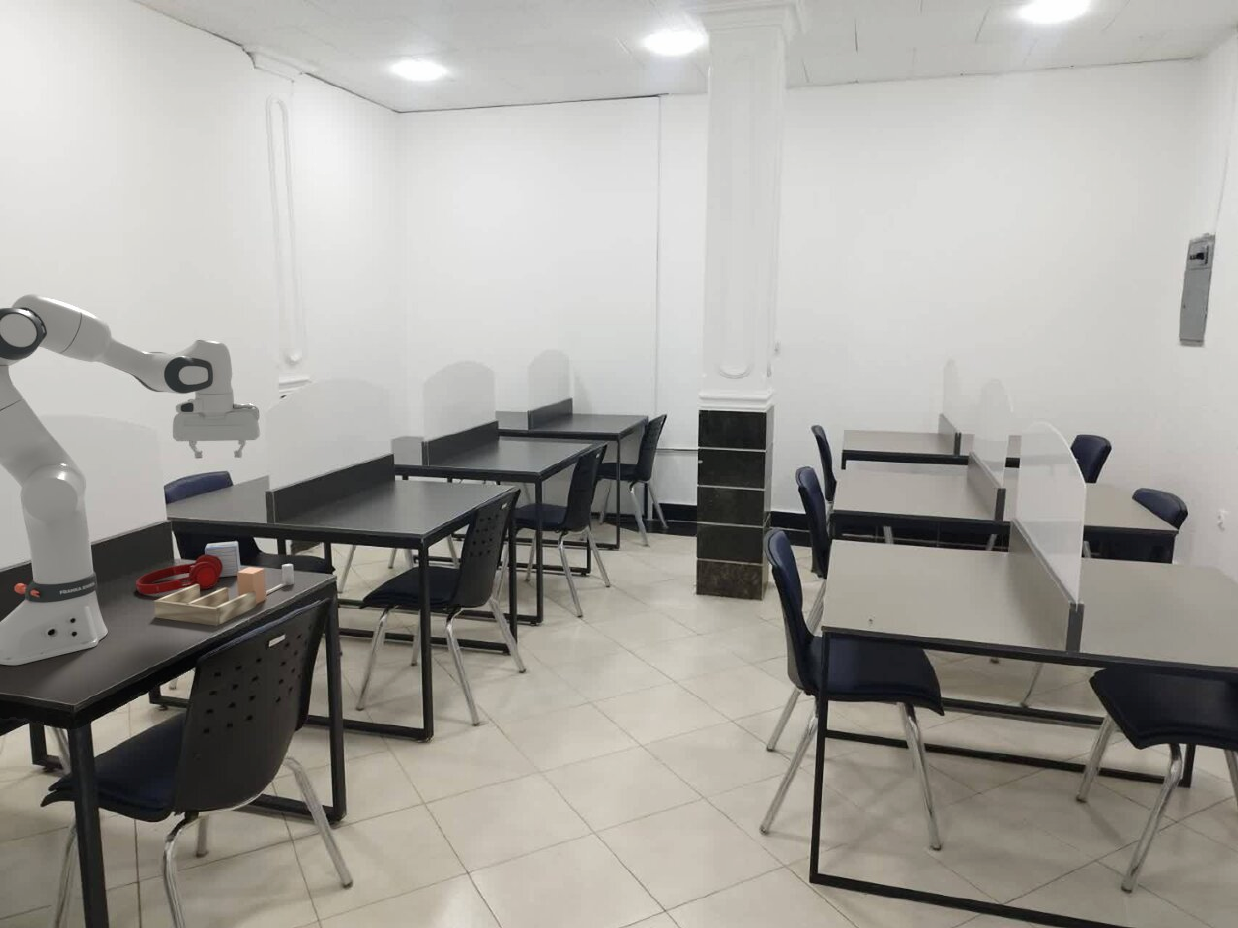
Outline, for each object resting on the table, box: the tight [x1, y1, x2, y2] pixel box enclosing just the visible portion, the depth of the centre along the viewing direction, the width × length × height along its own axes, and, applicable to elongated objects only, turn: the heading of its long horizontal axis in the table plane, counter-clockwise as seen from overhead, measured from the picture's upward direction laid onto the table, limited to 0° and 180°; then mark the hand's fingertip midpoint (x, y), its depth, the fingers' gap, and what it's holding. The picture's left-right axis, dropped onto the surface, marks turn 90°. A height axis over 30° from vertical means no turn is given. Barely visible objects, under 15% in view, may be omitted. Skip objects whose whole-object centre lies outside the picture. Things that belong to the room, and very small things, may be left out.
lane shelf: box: [153, 584, 257, 627], centre depth 209 cm, size 14×18×4 cm
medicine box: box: [204, 540, 242, 578], centre depth 236 cm, size 8×4×9 cm, turn 108°
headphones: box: [135, 554, 223, 595], centre depth 227 cm, size 15×7×20 cm
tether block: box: [236, 563, 295, 605], centre depth 223 cm, size 18×4×8 cm, turn 166°
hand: (218, 457), depth 224 cm, fingers open, 8 cm apart
